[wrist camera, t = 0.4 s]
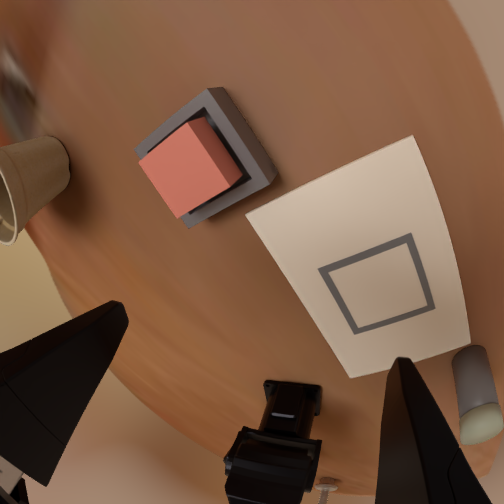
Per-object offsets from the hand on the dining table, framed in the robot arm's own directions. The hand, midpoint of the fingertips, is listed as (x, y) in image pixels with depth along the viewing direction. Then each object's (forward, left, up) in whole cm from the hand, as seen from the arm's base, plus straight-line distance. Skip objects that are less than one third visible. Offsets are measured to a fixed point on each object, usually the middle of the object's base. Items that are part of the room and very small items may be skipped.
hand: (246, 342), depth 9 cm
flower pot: (+5, +24, -14) cm, 29 cm away
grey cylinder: (-17, -17, -14) cm, 28 cm away
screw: (-59, -4, -14) cm, 61 cm away
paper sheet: (-8, -6, -14) cm, 17 cm away
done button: (+3, +6, -12) cm, 14 cm away
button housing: (+3, +6, -14) cm, 16 cm away
